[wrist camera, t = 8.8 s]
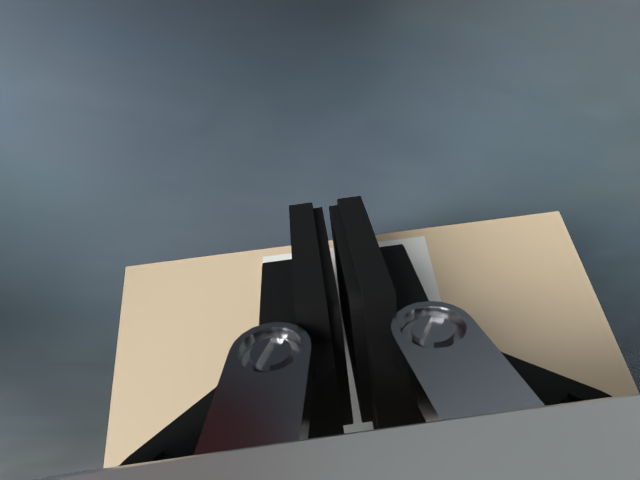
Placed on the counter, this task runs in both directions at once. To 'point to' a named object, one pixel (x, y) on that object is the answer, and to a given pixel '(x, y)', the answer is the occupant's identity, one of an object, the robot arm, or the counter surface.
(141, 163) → the counter surface
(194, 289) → the panel
